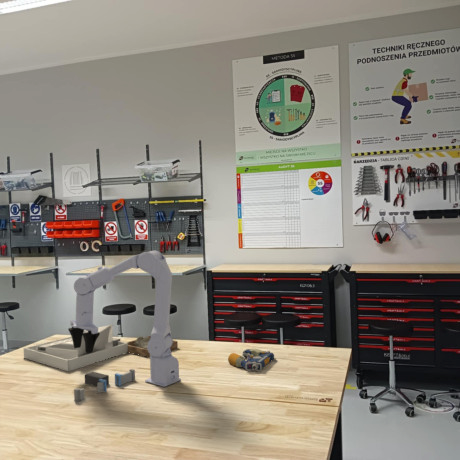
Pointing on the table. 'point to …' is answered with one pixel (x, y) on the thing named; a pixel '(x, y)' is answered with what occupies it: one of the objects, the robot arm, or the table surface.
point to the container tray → (75, 362)
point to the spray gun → (251, 359)
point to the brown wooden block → (144, 352)
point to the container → (69, 352)
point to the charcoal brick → (95, 378)
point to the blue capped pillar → (102, 387)
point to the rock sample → (142, 342)
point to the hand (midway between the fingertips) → (83, 350)
